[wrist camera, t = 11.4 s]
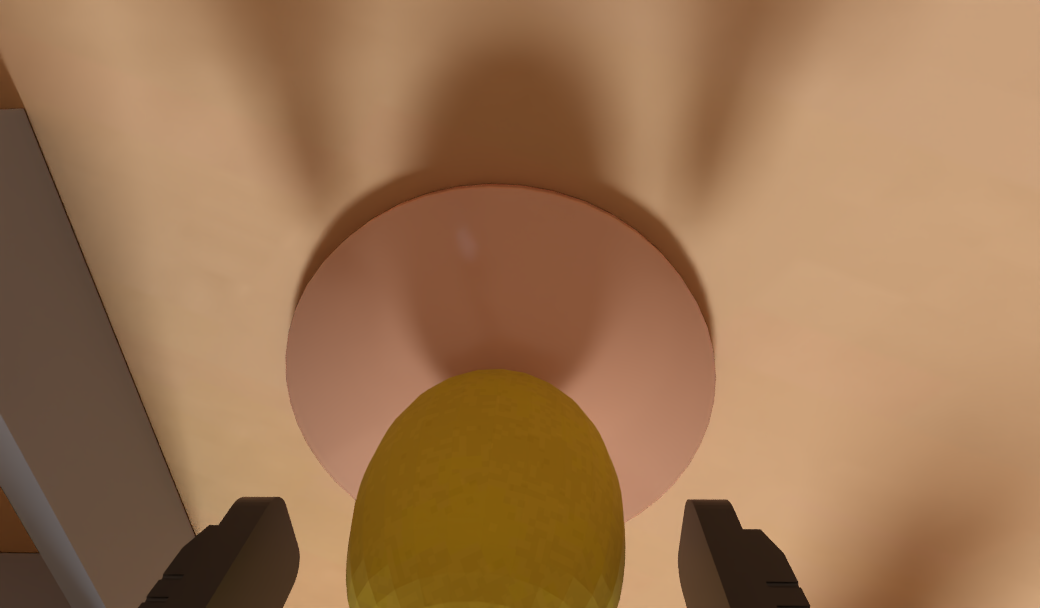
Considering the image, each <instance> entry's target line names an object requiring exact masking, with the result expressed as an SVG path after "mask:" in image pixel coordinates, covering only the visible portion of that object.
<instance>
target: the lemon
mask: <svg viewBox="0 0 1040 608" xmlns="http://www.w3.org/2000/svg"><path fill="white" fill-rule="evenodd" d="M624 566H625V528H624V513H623V502H622V494H621V489H620V485H619V480H618V477H617V474H616V471H615V468H614V465H613V463H612V460H611V458H610V456H609V453H608V451H607V448H606V446H605V444H604V441H603V439H602V437H601V435H600V433H599V431H598V430H597V428H596V427H595V425H594V424H593V422H592V421H591V420H590V419H589V418H588V416H587V415H586V414H585V413H584V412H583V410H582V409H581V408H580V407H579V405H578V404H577V403H576V402H575V401H574V400H573V399H572V398H570V397H569V396H567V395H566V394H565V393H563V392H562V391H560V390H559V389H558V388H556V387H555V386H553V385H552V384H550V383H548V382H546V381H544V380H541V379H539V378H537V377H534V376H532V375H529V374H527V373H523V372H517V371H512V370H506V369H487V370H475V371H472V372H468V373H464V374H461V375H457V376H453V377H450V378H448V379H446V380H444V381H443V382H441V383H439V384H437V385H435V386H433V387H432V388H430V389H428V390H426V391H425V392H423V393H422V394H421V395H419V396H418V397H417V398H416V399H415V400H414V401H413V402H412V403H411V404H410V405H409V406H408V407H407V408H406V409H405V410H404V411H403V412H402V413H401V414H400V415H399V416H398V417H397V418H396V419H395V421H394V422H393V423H392V425H391V426H390V427H389V428H388V430H387V432H386V433H385V435H384V437H383V439H382V440H381V442H380V444H379V446H378V448H377V449H376V451H375V453H374V455H373V457H372V459H371V461H370V462H369V465H368V467H367V469H366V471H365V473H364V476H363V478H362V481H361V484H360V487H359V490H358V494H357V498H356V502H355V507H354V513H353V519H352V525H351V531H350V538H349V544H348V553H347V565H346V586H347V597H348V603H349V608H617V606H618V603H619V600H620V595H621V589H622V583H623V576H624Z"/></svg>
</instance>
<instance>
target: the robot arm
mask: <svg viewBox="0 0 1040 608" xmlns="http://www.w3.org/2000/svg"><path fill="white" fill-rule="evenodd" d="M299 560H300V554H299V548H298V544H297V541H296V537H295V534H294V531H293V527H292V524H291V521H290V517H289V514H288V511H287V507H286V504H285V502H284V500H283V499H282V498H280V497H242V498H239V499H238V500H237V501H236V502H235V503H234V504H233V505H232V507H231V508H230V509H229V511H228V512H227V514H226V515H225V517H224V518H223V520H222V521H221V522H220V524H219V525H209V526H208V527H206V528H205V529H204V530H203V531H202V532H200V533H199V534H198V535H197V536H196V537H194V538H193V539H192V540H191V541H190V542H189V543H187V544H186V545H185V546H184V547H183V548H182V549H181V550H180V551H179V553H178V554H177V556H176V557H175V558H174V560H173V561H172V562H171V564H170V565H169V566H168V568H167V569H166V570H165V572H164V573H163V577H162V579H161V580H158V581H157V583H156V584H155V585H154V587H153V588H152V589H151V591H150V592H149V594H148V595H147V596H146V601H145V602H142V603H141V604H140V606H139V607H138V608H283V606H284V604H285V602H286V600H287V598H288V595H289V593H290V591H291V589H292V587H293V585H294V582H295V580H296V577H297V573H298V568H299ZM678 568H679V577H680V583H681V588H682V592H683V595H684V599H685V602H686V606H687V608H810V604H809V602H808V600H807V598H806V597H805V595H804V593H803V591H802V589H801V588H799V586H798V581H797V579H796V577H795V575H794V573H793V571H792V569H791V567H790V565H789V563H788V561H787V559H786V557H785V555H784V553H783V552H782V551H781V550H780V549H779V548H778V547H777V546H776V545H775V544H774V543H773V542H772V541H771V540H770V539H769V538H768V537H767V536H766V535H765V534H764V533H763V532H762V531H761V530H760V529H742V527H741V524H740V522H739V520H738V518H737V515H736V513H735V511H734V508H733V506H732V505H731V503H730V502H729V501H728V500H687V502H686V504H685V510H684V517H683V524H682V531H681V538H680V545H679V552H678Z"/></svg>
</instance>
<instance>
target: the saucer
mask: <svg viewBox="0 0 1040 608" xmlns="http://www.w3.org/2000/svg"><path fill="white" fill-rule="evenodd" d="M487 369H506V370H512V371H517V372H523V373H527V374H529V375H532V376H534V377H537V378H539V379H541V380H544V381H546V382H548V383H550V384H552V385H553V386H555V387H556V388H558V389H559V390H560V391H562V392H563V393H565V394H566V395H567V396H569V397H570V398H572V399H573V400H574V401H575V402H576V403H577V404H578V405H579V407H580V408H581V409H582V410H583V412H584V413H585V414H586V415H587V416H588V418H589V419H590V420H591V421H592V422H593V424H594V425H595V427H596V428H597V430H598V431H599V433H600V435H601V437H602V439H603V441H604V444H605V446H606V448H607V451H608V453H609V456H610V458H611V460H612V463H613V465H614V468H615V471H616V474H617V477H618V480H619V485H620V489H621V494H622V502H623V513H624V523H625V522H627V521H628V520H630V519H632V518H633V517H635V516H637V515H638V514H640V513H641V512H643V511H644V510H645V509H646V508H648V507H649V506H650V505H652V504H653V503H654V502H655V501H657V500H658V499H659V498H660V497H661V496H662V495H663V494H664V493H665V492H666V491H667V490H668V489H669V488H670V487H671V486H672V485H673V484H674V483H675V482H676V481H677V479H678V478H679V477H680V475H681V474H682V473H683V472H684V470H685V469H686V468H687V467H688V465H689V463H690V462H691V460H692V458H693V457H694V455H695V453H696V451H697V450H698V448H699V446H700V444H701V442H702V439H703V437H704V434H705V432H706V429H707V427H708V424H709V420H710V416H711V412H712V407H713V403H714V395H715V381H716V373H715V361H714V351H713V347H712V343H711V339H710V335H709V331H708V327H707V325H706V323H705V320H704V318H703V316H702V313H701V311H700V308H699V306H698V304H697V302H696V300H695V299H694V297H693V295H692V294H691V292H690V291H689V289H688V287H687V286H686V284H685V283H684V281H683V279H682V278H681V276H680V275H679V274H678V272H677V271H676V269H675V268H674V267H673V266H672V265H671V264H670V262H669V261H668V260H667V259H666V258H665V257H664V255H663V254H662V253H661V252H660V251H659V250H658V249H657V248H656V247H655V246H654V245H653V244H652V243H650V242H649V241H648V240H647V239H646V238H645V237H644V236H643V235H641V234H640V233H639V232H638V231H637V230H635V229H634V228H632V227H631V226H629V225H628V224H626V223H625V222H623V221H622V220H620V219H619V218H617V217H616V216H614V215H612V214H611V213H609V212H607V211H605V210H602V209H600V208H598V207H596V206H594V205H592V204H590V203H588V202H586V201H583V200H580V199H577V198H574V197H571V196H568V195H565V194H562V193H558V192H555V191H552V190H546V189H540V188H535V187H529V186H524V185H508V184H480V185H468V186H457V187H453V188H449V189H444V190H440V191H435V192H431V193H427V194H424V195H421V196H419V197H416V198H413V199H411V200H408V201H405V202H403V203H400V204H398V205H396V206H394V207H392V208H391V209H389V210H387V211H385V212H383V213H381V214H380V215H378V216H376V217H374V218H373V219H371V220H370V221H369V222H367V223H366V224H365V225H363V226H362V227H361V228H359V229H358V230H357V231H355V232H354V233H353V234H351V235H350V236H349V237H348V238H347V239H346V240H344V241H343V242H342V243H341V244H340V245H339V246H338V247H337V248H336V249H335V250H334V251H333V252H332V254H331V255H330V256H329V257H328V258H327V259H326V260H325V261H324V262H323V263H322V264H321V266H320V267H319V269H318V270H317V271H316V273H315V274H314V276H313V277H312V279H311V280H310V281H309V283H308V284H307V286H306V288H305V290H304V292H303V294H302V296H301V298H300V301H299V303H298V305H297V307H296V309H295V313H294V316H293V319H292V323H291V326H290V329H289V334H288V342H287V349H286V381H287V386H288V392H289V397H290V403H291V406H292V409H293V412H294V415H295V418H296V421H297V424H298V426H299V428H300V430H301V432H302V434H303V436H304V438H305V440H306V442H307V444H308V446H309V447H310V449H311V450H312V452H313V453H314V455H315V456H316V458H317V459H318V461H319V462H320V464H321V465H322V466H323V468H324V469H325V470H326V471H327V472H328V473H329V475H330V476H331V477H332V478H333V479H334V480H335V481H336V483H337V484H339V485H340V486H341V487H342V488H343V489H344V490H345V491H346V492H347V493H348V494H349V495H351V496H352V497H353V498H354V499H355V500H356V498H357V494H358V490H359V487H360V484H361V481H362V478H363V476H364V473H365V471H366V469H367V467H368V465H369V462H370V461H371V459H372V457H373V455H374V453H375V451H376V449H377V448H378V446H379V444H380V442H381V440H382V439H383V437H384V435H385V433H386V432H387V430H388V428H389V427H390V426H391V425H392V423H393V422H394V421H395V419H396V418H397V417H398V416H399V415H400V414H401V413H402V412H403V411H404V410H405V409H406V408H407V407H408V406H409V405H410V404H411V403H412V402H413V401H414V400H415V399H416V398H417V397H418V396H419V395H421V394H422V393H423V392H425V391H426V390H428V389H430V388H432V387H433V386H435V385H437V384H439V383H441V382H443V381H444V380H446V379H448V378H450V377H453V376H457V375H461V374H464V373H468V372H472V371H475V370H487Z"/></svg>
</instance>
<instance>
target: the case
mask: <svg viewBox="0 0 1040 608" xmlns="http://www.w3.org/2000/svg"><path fill="white" fill-rule="evenodd" d="M0 486H1V488H2V490H3V491H4V493H5V495H6V497H7V498H8V500H9V502H10V503H11V505H12V507H13V508H14V510H15V512H16V514H17V515H18V517H19V519H20V520H21V522H22V524H23V526H24V527H25V529H26V531H27V532H28V534H29V536H30V537H31V539H32V541H33V543H34V544H35V546H36V548H37V549H38V551H39V553H0V608H138V607H139V606H140V604H141V603H142V602H145V601H146V596H147V595H148V594H149V592H150V591H151V589H152V588H153V587H154V585H155V584H156V583H157V581H158V580H161V579H162V577H163V573H164V572H165V570H166V569H167V568H168V566H169V565H170V564H171V562H172V561H173V560H174V558H175V557H176V556H177V554H178V553H179V551H180V550H181V549H182V548H183V547H184V546H185V545H186V544H187V543H189V542H190V541H191V540H192V539H193V538H194V537H195V535H194V532H193V530H192V527H191V525H190V522H189V520H188V517H187V515H186V512H185V510H184V507H183V505H182V502H181V500H180V498H179V495H178V493H177V490H176V488H175V485H174V483H173V480H172V478H171V475H170V473H169V470H168V468H167V465H166V463H165V460H164V458H163V455H162V453H161V450H160V448H159V445H158V443H157V440H156V438H155V435H154V433H153V430H152V428H151V425H150V423H149V420H148V418H147V415H146V413H145V410H144V408H143V405H142V403H141V400H140V398H139V395H138V393H137V390H136V388H135V385H134V383H133V380H132V378H131V375H130V373H129V370H128V368H127V365H126V363H125V360H124V358H123V355H122V353H121V350H120V348H119V345H118V343H117V340H116V338H115V335H114V333H113V330H112V328H111V325H110V323H109V320H108V318H107V315H106V313H105V310H104V308H103V305H102V303H101V300H100V298H99V295H98V293H97V290H96V288H95V286H94V283H93V281H92V278H91V276H90V273H89V271H88V268H87V266H86V263H85V261H84V258H83V256H82V253H81V251H80V248H79V246H78V243H77V241H76V238H75V236H74V233H73V231H72V228H71V226H70V223H69V221H68V218H67V216H66V213H65V211H64V208H63V206H62V203H61V201H60V198H59V196H58V193H57V191H56V188H55V186H54V183H53V181H52V178H51V176H50V173H49V171H48V168H47V166H46V163H45V161H44V158H43V156H42V153H41V151H40V148H39V146H38V143H37V141H36V138H35V136H34V133H33V131H32V128H31V126H30V123H29V121H28V118H27V116H26V113H25V111H24V109H0Z"/></svg>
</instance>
